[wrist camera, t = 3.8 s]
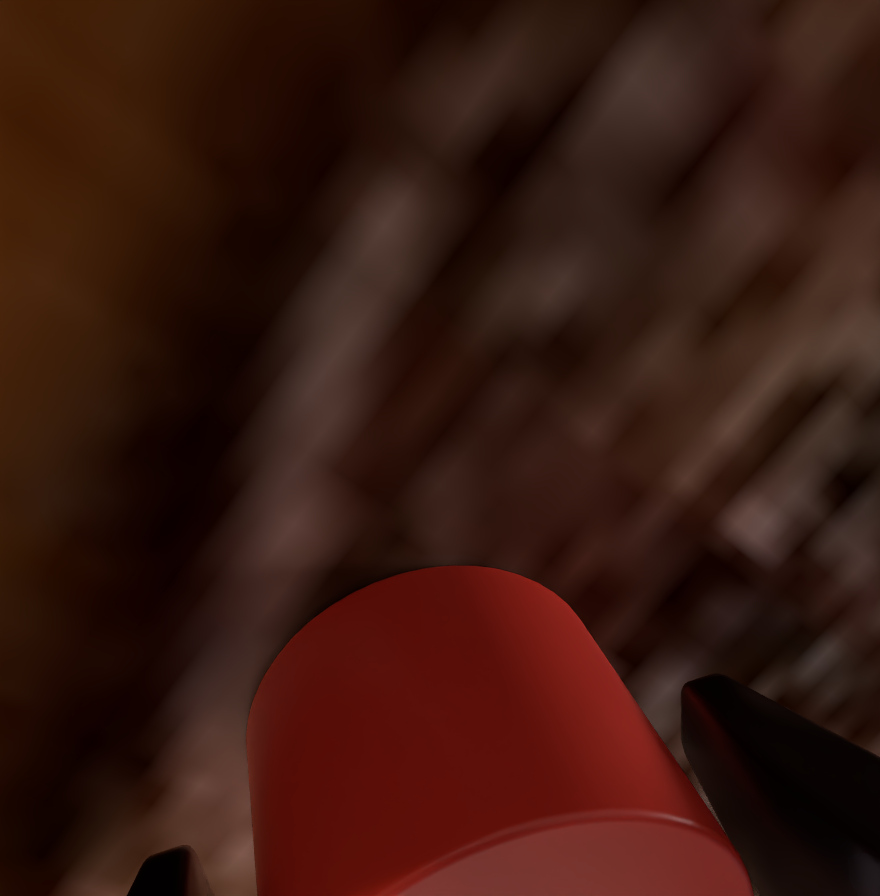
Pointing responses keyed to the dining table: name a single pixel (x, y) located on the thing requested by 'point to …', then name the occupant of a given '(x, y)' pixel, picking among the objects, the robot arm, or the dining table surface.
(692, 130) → the dining table surface
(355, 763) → the red cylinder
